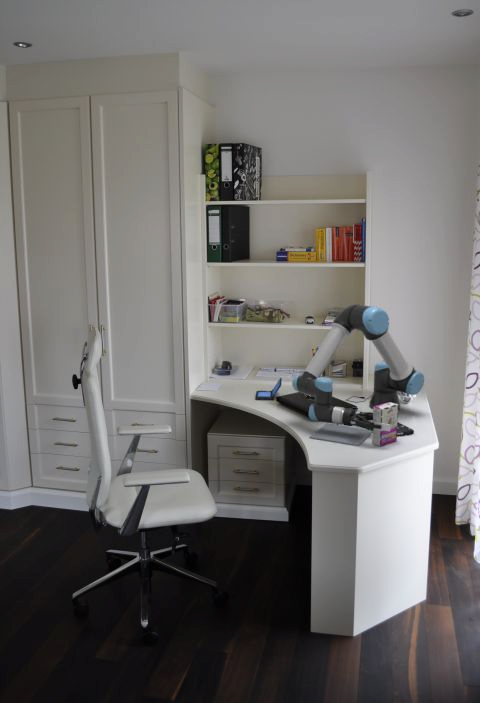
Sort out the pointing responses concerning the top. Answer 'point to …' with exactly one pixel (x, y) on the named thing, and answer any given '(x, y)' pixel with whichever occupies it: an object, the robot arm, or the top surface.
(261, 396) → the handheld game console
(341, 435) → the slate mat
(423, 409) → the top surface
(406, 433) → the disk drive
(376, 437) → the candy bar box
